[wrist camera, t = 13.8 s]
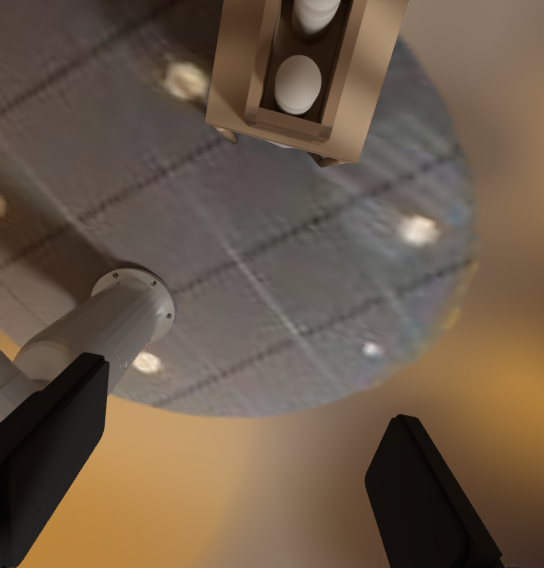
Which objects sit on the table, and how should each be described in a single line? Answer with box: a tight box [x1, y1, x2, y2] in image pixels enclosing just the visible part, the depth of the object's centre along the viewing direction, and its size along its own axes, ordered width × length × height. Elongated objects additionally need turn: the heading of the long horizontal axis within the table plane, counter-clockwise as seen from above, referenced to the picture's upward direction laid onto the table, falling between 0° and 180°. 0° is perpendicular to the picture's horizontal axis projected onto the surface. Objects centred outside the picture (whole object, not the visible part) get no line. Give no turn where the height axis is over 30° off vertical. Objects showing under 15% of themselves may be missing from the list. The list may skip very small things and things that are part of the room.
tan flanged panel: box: [205, 0, 409, 167], centre depth 30 cm, size 13×13×20 cm
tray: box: [244, 0, 368, 146], centre depth 21 cm, size 10×6×6 cm, turn 166°
